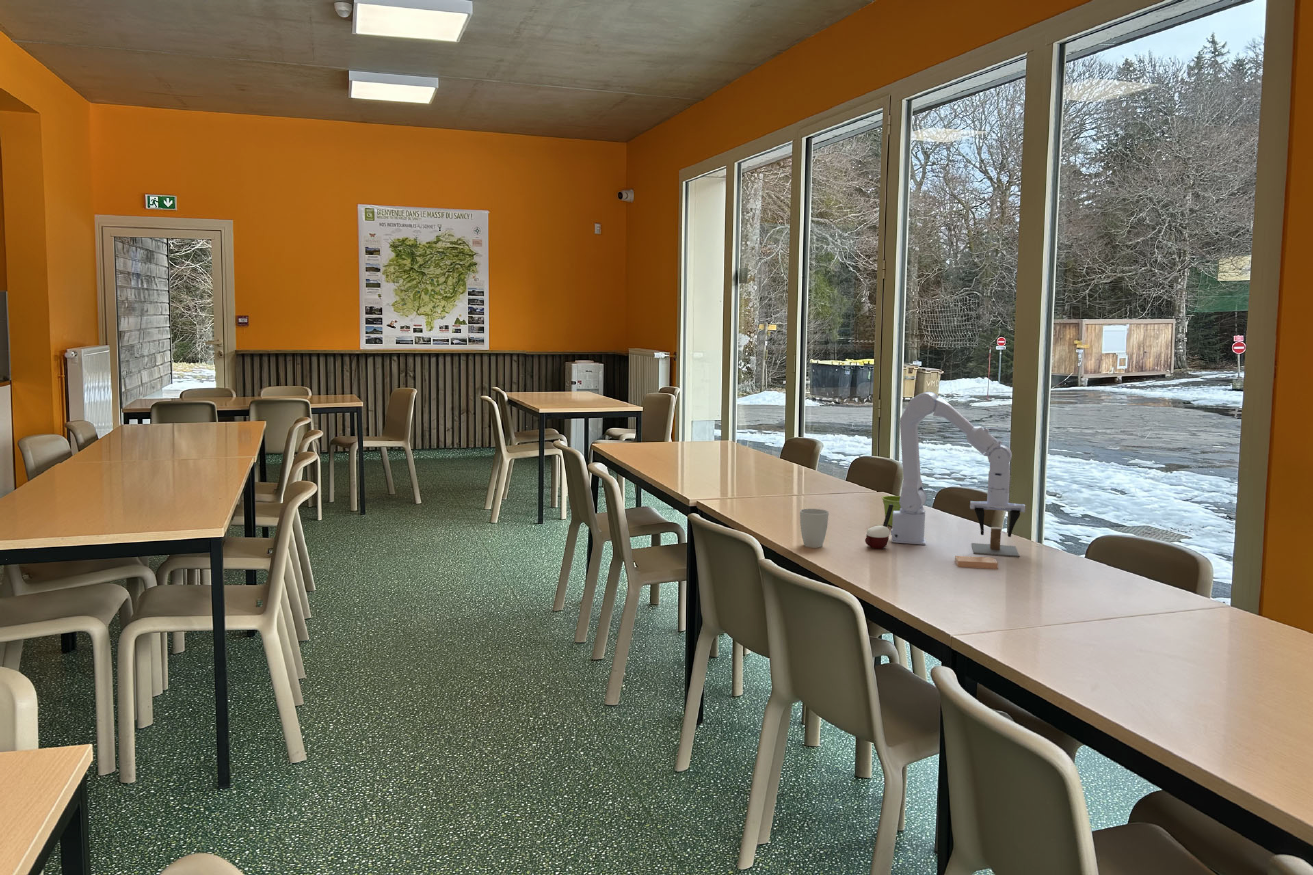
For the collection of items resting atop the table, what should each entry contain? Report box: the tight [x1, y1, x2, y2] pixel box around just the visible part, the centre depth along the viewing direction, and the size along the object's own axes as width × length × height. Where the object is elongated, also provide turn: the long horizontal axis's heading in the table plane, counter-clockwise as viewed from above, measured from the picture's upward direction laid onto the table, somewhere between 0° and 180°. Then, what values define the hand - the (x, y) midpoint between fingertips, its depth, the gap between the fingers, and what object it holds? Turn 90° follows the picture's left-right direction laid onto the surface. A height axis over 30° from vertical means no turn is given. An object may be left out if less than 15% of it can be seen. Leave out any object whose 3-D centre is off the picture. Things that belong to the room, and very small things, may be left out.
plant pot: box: [881, 495, 901, 527], centre depth 300 cm, size 9×9×9 cm
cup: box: [799, 508, 830, 549], centre depth 271 cm, size 8×8×10 cm
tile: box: [954, 555, 999, 570], centre depth 252 cm, size 10×2×6 cm
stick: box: [989, 526, 1002, 550], centre depth 269 cm, size 2×2×6 cm
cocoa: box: [864, 504, 893, 550], centre depth 270 cm, size 10×6×12 cm, turn 98°
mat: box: [971, 542, 1020, 558], centre depth 269 cm, size 12×12×1 cm
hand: (995, 535), depth 268 cm, fingers open, 7 cm apart
